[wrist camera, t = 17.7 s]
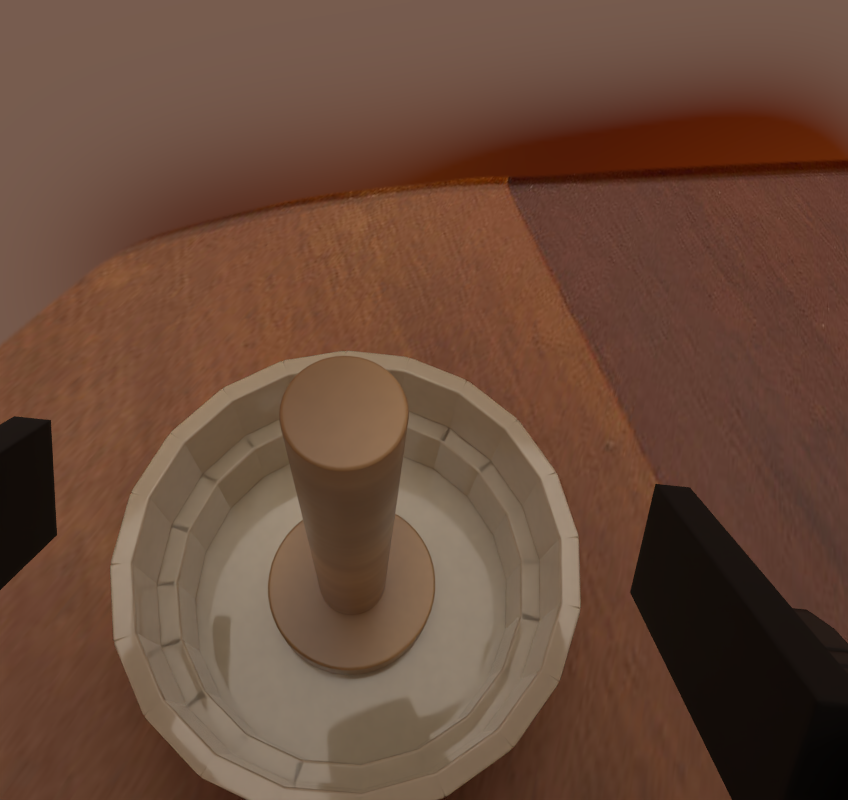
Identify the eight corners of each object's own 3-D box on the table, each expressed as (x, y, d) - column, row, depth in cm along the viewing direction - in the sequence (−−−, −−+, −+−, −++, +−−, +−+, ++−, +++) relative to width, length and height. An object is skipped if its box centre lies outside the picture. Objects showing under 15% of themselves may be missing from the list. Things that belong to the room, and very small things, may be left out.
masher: (437, 522, 26) (510, 292, 13) (425, 682, 24) (504, 592, 11) (286, 507, 26) (214, 260, 13) (259, 667, 23) (134, 556, 10)
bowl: (535, 445, 29) (575, 374, 23) (534, 820, 22) (588, 840, 17) (210, 412, 28) (175, 331, 23) (119, 786, 22) (43, 795, 17)
